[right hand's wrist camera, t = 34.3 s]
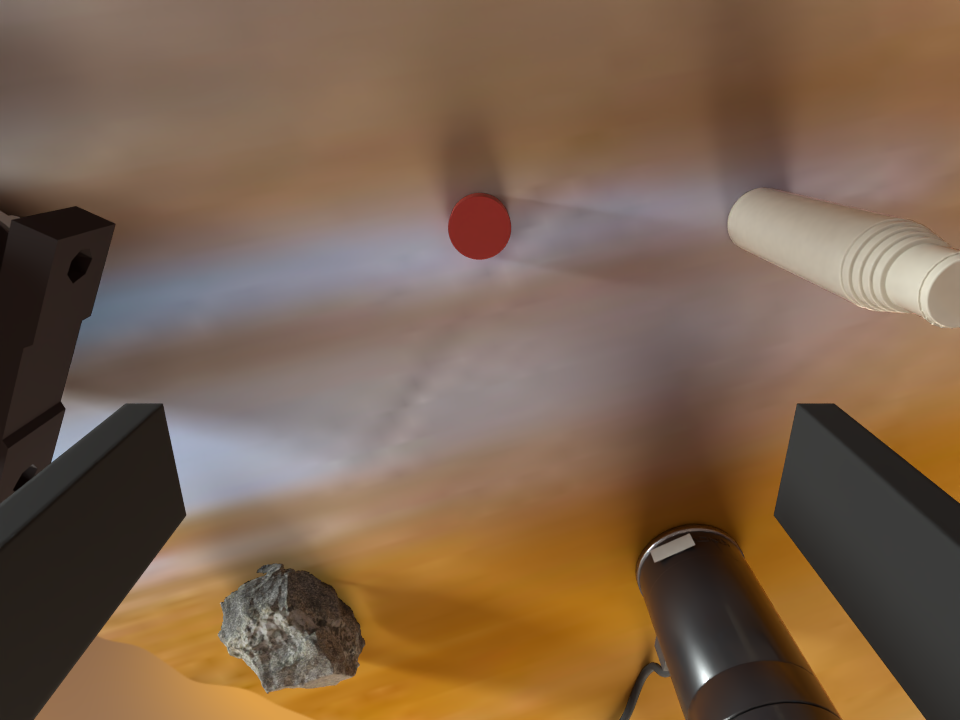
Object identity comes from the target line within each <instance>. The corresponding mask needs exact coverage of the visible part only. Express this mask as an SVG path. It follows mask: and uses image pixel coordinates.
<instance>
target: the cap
mask: <svg viewBox="0 0 960 720" xmlns="http://www.w3.org/2000/svg"><path fill="white" fill-rule="evenodd" d="M448 232H449V237H450V240H451V242H452V244H453V245H454V247H455V248H456V249H457V250H458V251H459V252H460V253H461V254H463V255H464V256H466V257H469V258H472V259H477V260H482V259H488V258H491V257H493V256H495V255H497V254H498V253H499V252H501V251H502V250H503V248H504V247H505V246H506V244H507V243H508V240H509V238H510V234H511V222H510V218H509V215H508V212H507V210H506V208H505V206H504V205H503V204H502V203H501V201H499V200H498V199H497V198H495V197H494V196H492V195H489V194H485V193H474V194H470V195H468V196H466V197H464V198H462V199H461V200H460V201H459V202H458V203H457V204H456V205H455V207H454V208H453V210H452V213H451V216H450V219H449V224H448Z"/></svg>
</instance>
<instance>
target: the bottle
mask: <svg viewBox="0 0 960 720" xmlns="http://www.w3.org/2000/svg"><path fill="white" fill-rule="evenodd" d="M727 227H728V233H729V236H730V238H731V240H732V242H733V243H734V244H735V245H736V246H737V247H739V248H740V249H742V250H744V251H746V252H748V253H750V254H752V255H754V256H756V257H759V258H761V259H763V260H765V261H767V262H769V263H771V264H773V265H775V266H777V267H779V268H781V269H783V270H785V271H787V272H789V273H791V274H793V275H795V276H797V277H800V278H802V279H804V280H806V281H808V282H810V283H812V284H814V285H816V286H818V287H820V288H822V289H824V290H826V291H828V292H830V293H832V294H834V295H836V296H838V297H841V298H843V299H845V300H847V301H849V302H851V303H853V304H855V305H857V306H859V307H862V308H865V309H869V310H873V311H878V312H894V313H905V314H911V313H913V314H916V315H918V316H920V317H922V318H924V319H925V320H927V321H928V322H929V323H930V324H932V325H935V326H938V327H941V328H960V250H957V249H954V248H952V247H951V246H950V245H949V244H948V243H946V242H945V241H944V240H943V239H941V238H940V237H938V236H937V235H936V234H935V233H933V232H932V231H931V230H930V229H928V228H927V227H926V226H923V225H921V224H919V223H917V222H915V221H912V220H909V219H905V218H901V217H896V216H892V215H887V214H883V213H879V212H874V211H870V210H865V209H861V208H857V207H852V206H848V205H843V204H839V203H835V202H830V201H826V200H822V199H817V198H813V197H808V196H804V195H800V194H795V193H791V192H786V191H782V190H778V189H773V188H767V187H763V188H757V189H754V190H751V191H749V192H747V193H746V194H744V195H743V196H742V197H740V198H739V199H738V200H737V202H736V203H735V204H734V206H733V207H732V209H731V211H730V214H729V217H728V223H727Z"/></svg>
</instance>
